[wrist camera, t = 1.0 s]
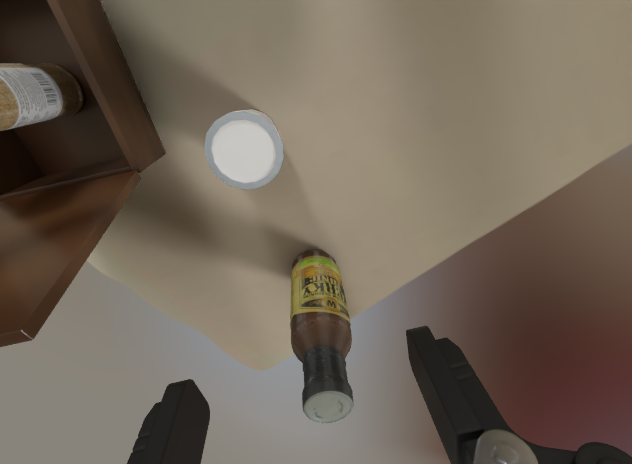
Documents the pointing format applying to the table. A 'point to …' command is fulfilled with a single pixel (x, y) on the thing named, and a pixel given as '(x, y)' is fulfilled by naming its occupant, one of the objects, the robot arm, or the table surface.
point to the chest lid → (51, 247)
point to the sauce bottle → (321, 335)
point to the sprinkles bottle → (36, 94)
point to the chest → (98, 105)
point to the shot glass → (244, 149)
